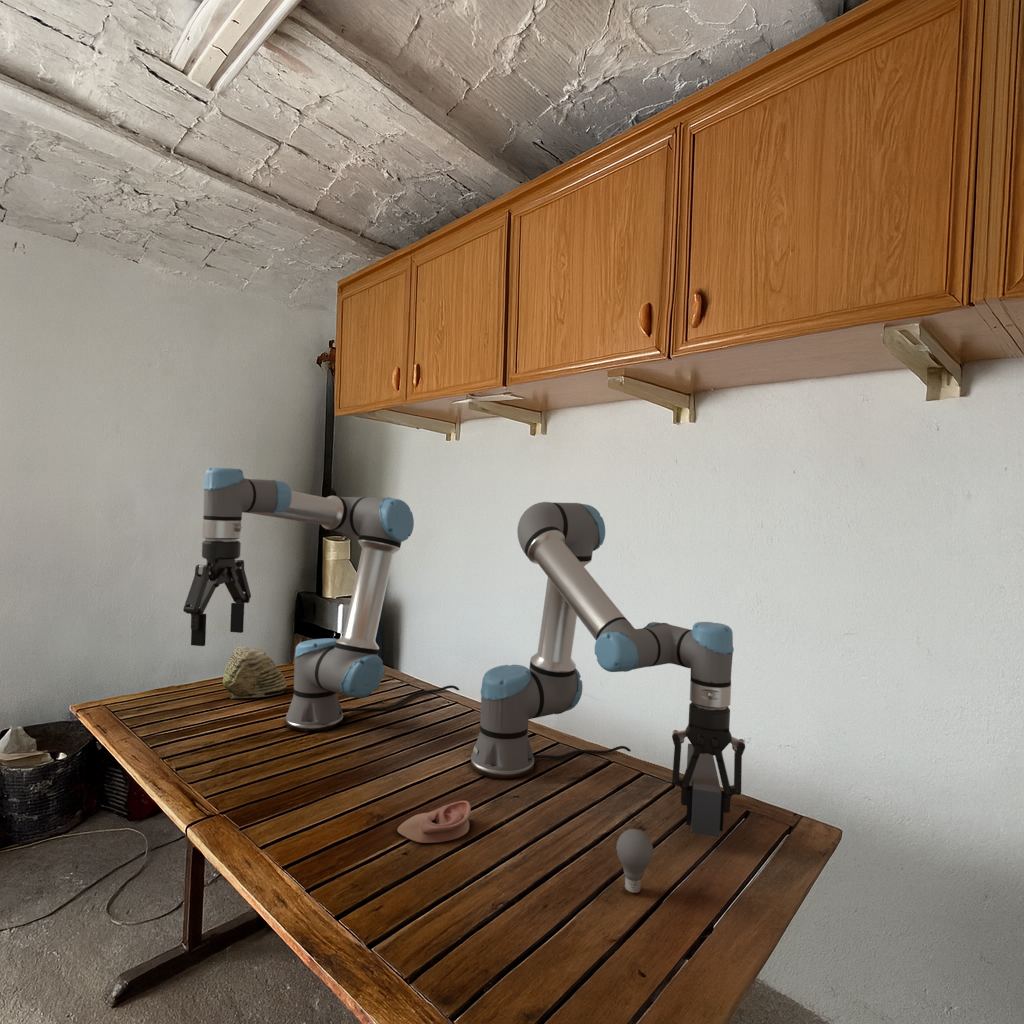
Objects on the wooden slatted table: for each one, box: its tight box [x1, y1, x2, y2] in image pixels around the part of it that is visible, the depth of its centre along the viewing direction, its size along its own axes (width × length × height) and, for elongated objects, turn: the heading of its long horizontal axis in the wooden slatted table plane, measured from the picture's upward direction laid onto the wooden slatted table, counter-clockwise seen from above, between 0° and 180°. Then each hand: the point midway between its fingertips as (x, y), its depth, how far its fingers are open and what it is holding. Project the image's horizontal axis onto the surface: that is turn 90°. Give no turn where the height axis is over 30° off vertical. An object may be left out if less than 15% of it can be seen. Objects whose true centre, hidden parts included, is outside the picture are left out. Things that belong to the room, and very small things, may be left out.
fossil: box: [222, 646, 288, 699], centre depth 198 cm, size 9×18×15 cm, turn 132°
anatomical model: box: [396, 800, 472, 844], centre depth 123 cm, size 13×4×12 cm
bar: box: [686, 743, 722, 838], centre depth 130 cm, size 24×5×8 cm, turn 167°
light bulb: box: [615, 828, 654, 894], centre depth 106 cm, size 6×6×10 cm
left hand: (218, 638), depth 136 cm, fingers open, 13 cm apart
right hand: (704, 824), depth 122 cm, fingers closed on bar, 5 cm apart
